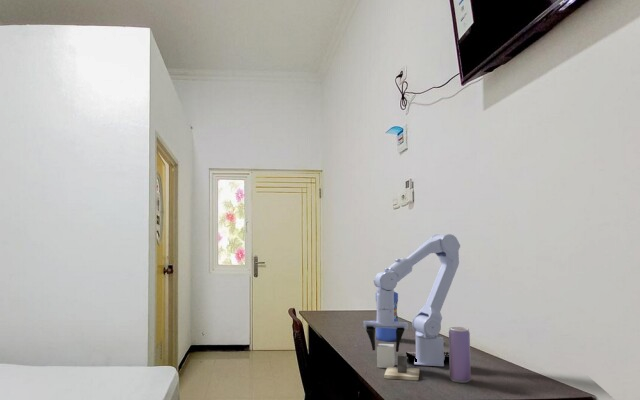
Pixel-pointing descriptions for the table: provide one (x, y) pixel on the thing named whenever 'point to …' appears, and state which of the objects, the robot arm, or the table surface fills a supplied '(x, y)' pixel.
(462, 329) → the beverage can
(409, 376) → the beige square base
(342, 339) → the table surface
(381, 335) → the water bottle
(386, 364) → the white rectangular block
